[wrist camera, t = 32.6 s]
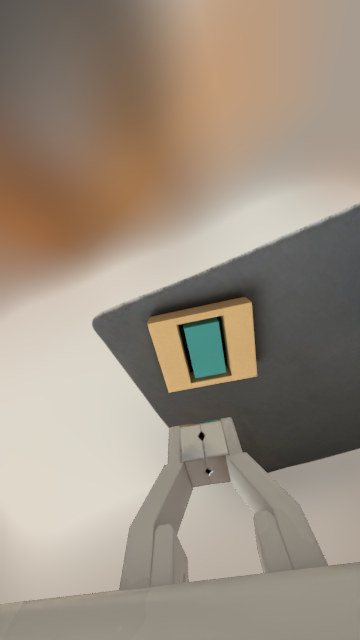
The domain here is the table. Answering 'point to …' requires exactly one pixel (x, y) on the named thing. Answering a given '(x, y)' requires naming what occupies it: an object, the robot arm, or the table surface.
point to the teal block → (205, 347)
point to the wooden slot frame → (236, 342)
